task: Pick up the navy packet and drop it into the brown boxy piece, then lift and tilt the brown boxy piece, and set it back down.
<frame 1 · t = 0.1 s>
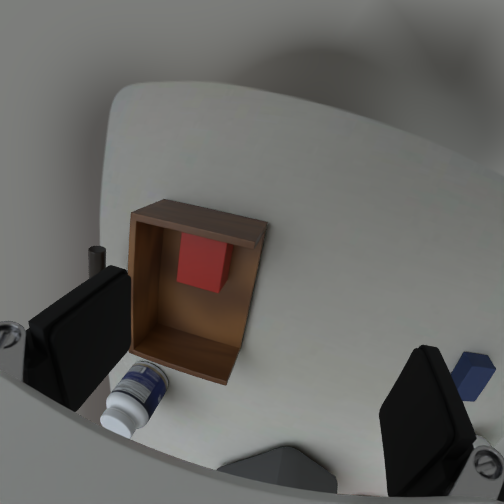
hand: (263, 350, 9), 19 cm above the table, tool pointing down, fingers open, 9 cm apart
navy packet: (466, 370, 29), on the table
brown boxy piece: (169, 287, 28), point 3 cm above the table, hinge at 0.0°, touching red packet
alarm clock: (271, 467, 40), on the table
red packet: (210, 251, 29), point 1 cm above the table, touching brown boxy piece
pill bottle: (151, 375, 38), on the table
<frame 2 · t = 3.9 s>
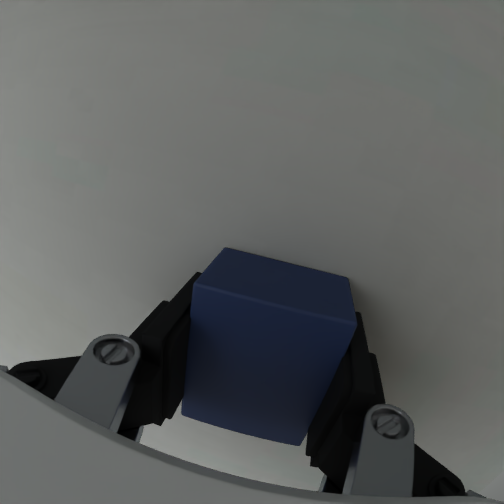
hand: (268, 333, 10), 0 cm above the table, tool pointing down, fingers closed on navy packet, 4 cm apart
navy packet: (269, 328, 11), on the table, touching gripper
when the fingers open (3 cm above the table, at t = 10.8 s): navy packet drops 2 cm, resting on brown boxy piece.
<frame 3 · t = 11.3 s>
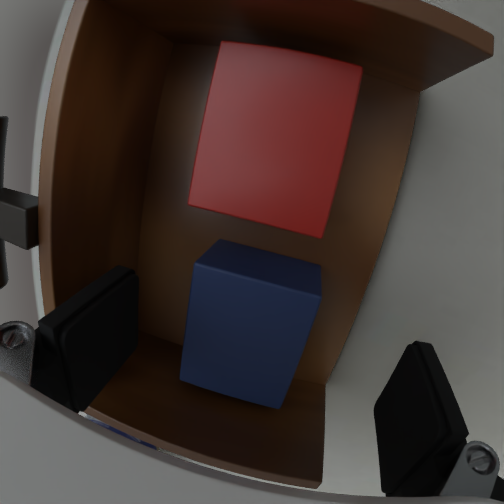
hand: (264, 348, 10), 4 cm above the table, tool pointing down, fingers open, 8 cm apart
navy packet: (255, 307, 13), point 1 cm above the table, touching brown boxy piece
brown boxy piece: (165, 226, 10), point 3 cm above the table, hinge at -0.1°, touching gripper, navy packet, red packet
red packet: (281, 137, 11), point 1 cm above the table, touching brown boxy piece
pill bottle: (129, 423, 19), on the table
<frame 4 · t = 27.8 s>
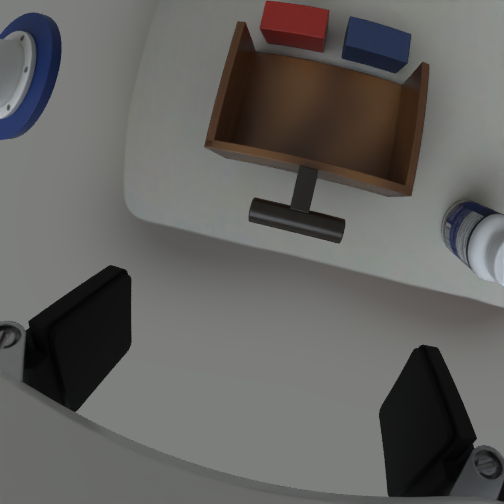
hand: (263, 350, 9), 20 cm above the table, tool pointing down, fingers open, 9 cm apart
navy packet: (372, 60, 21), point 2 cm above the table, tilted 90°
brown boxy piece: (316, 133, 22), point 5 cm above the table, hinge at 9.7°
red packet: (293, 40, 22), point 2 cm above the table, tilted 90°
pill bottle: (462, 226, 26), on the table
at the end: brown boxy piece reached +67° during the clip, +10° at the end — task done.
